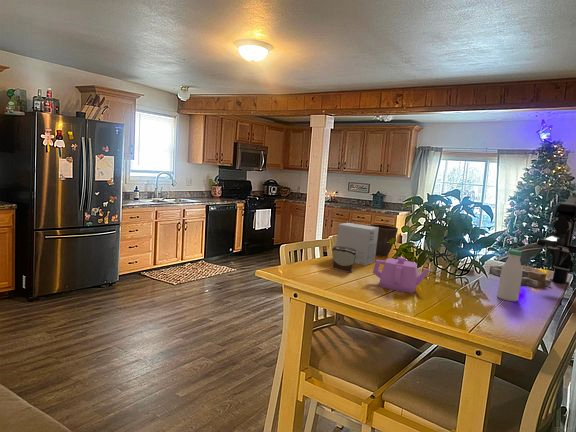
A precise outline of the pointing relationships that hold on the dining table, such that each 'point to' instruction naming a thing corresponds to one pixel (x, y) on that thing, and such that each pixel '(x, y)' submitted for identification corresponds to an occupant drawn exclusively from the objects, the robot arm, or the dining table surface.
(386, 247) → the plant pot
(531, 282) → the trap lane
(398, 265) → the teakettle
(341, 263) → the food container
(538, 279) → the block
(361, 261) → the supplement box
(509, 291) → the milk bottle
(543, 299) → the dining table surface
